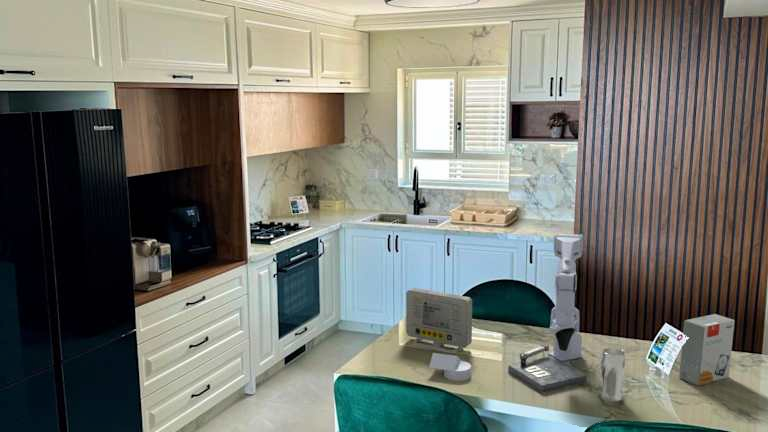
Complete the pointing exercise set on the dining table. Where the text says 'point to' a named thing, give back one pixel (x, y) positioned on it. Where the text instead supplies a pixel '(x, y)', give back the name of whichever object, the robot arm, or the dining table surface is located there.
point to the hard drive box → (706, 349)
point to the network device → (439, 319)
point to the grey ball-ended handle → (534, 351)
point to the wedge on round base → (451, 366)
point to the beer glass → (612, 373)
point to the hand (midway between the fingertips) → (563, 349)
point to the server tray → (547, 374)
